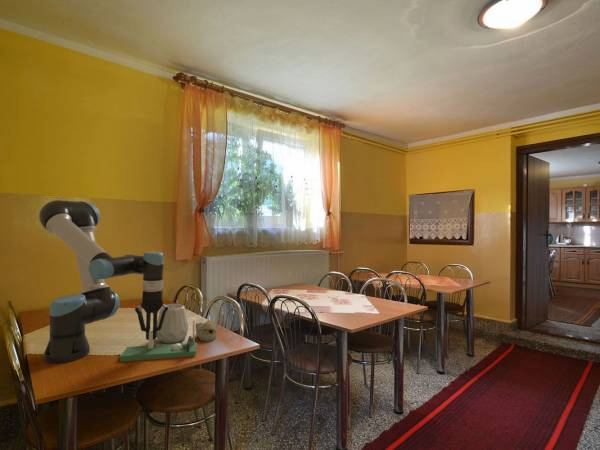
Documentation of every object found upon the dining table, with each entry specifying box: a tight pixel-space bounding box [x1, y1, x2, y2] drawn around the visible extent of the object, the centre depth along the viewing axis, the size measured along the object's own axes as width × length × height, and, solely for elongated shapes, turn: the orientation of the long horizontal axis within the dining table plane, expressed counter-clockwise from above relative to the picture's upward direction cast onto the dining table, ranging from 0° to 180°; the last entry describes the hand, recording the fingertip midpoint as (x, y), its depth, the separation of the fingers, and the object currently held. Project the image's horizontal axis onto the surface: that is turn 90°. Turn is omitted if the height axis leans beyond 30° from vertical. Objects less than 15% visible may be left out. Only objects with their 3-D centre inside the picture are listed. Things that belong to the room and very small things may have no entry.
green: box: [119, 320, 198, 362], centre depth 138 cm, size 28×10×12 cm, turn 103°
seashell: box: [195, 321, 217, 342], centre depth 159 cm, size 10×10×10 cm
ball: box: [172, 342, 182, 351], centre depth 139 cm, size 4×4×4 cm
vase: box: [156, 303, 189, 344], centre depth 155 cm, size 14×14×15 cm
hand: (150, 347), depth 138 cm, fingers closed
